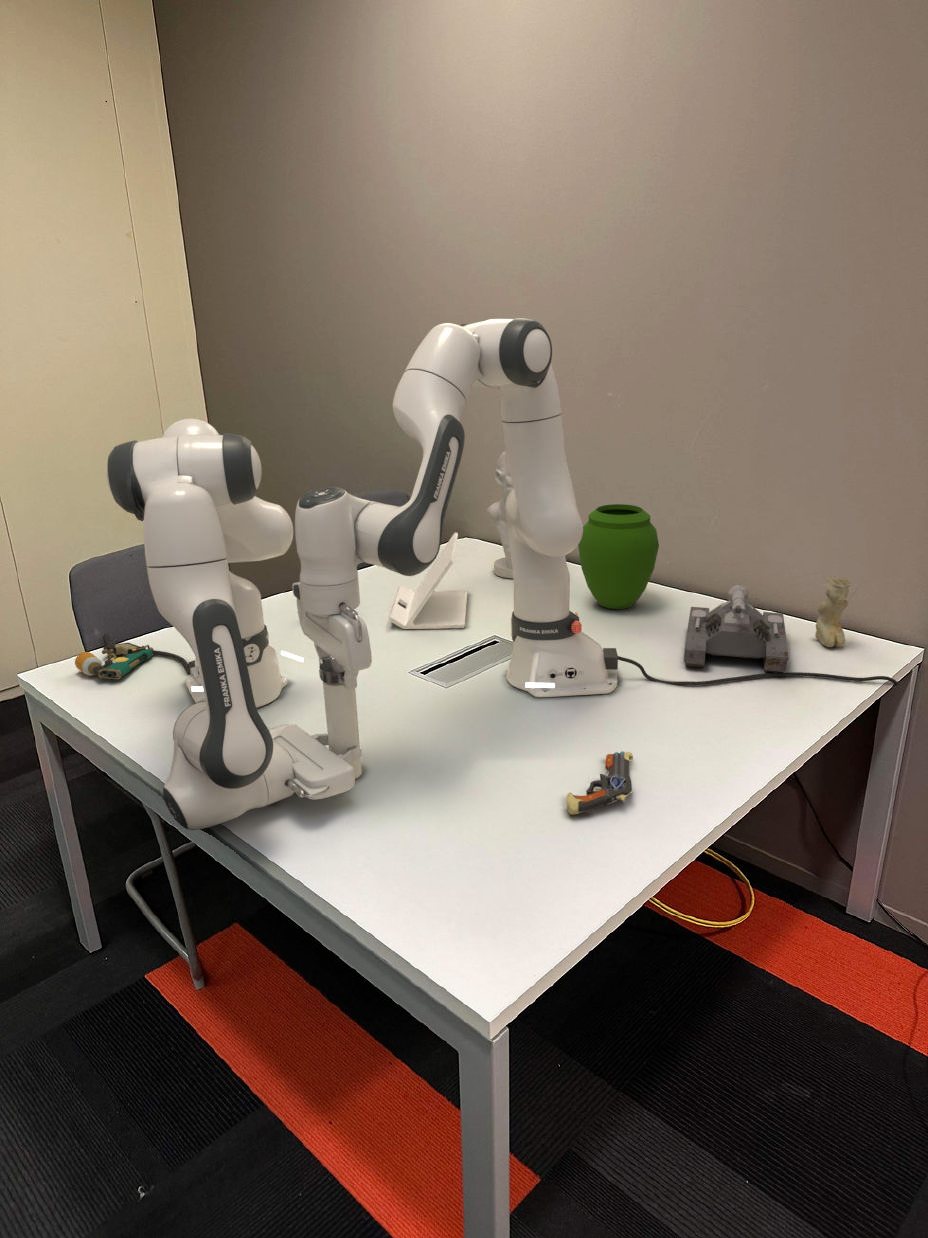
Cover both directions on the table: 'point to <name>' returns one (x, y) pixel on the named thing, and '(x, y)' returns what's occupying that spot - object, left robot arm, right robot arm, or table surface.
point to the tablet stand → (431, 599)
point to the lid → (331, 672)
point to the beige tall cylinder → (342, 721)
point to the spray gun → (113, 660)
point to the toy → (737, 633)
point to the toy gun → (605, 785)
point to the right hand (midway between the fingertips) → (337, 677)
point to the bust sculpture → (502, 517)
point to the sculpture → (832, 613)
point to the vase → (618, 554)
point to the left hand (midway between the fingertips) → (348, 743)
